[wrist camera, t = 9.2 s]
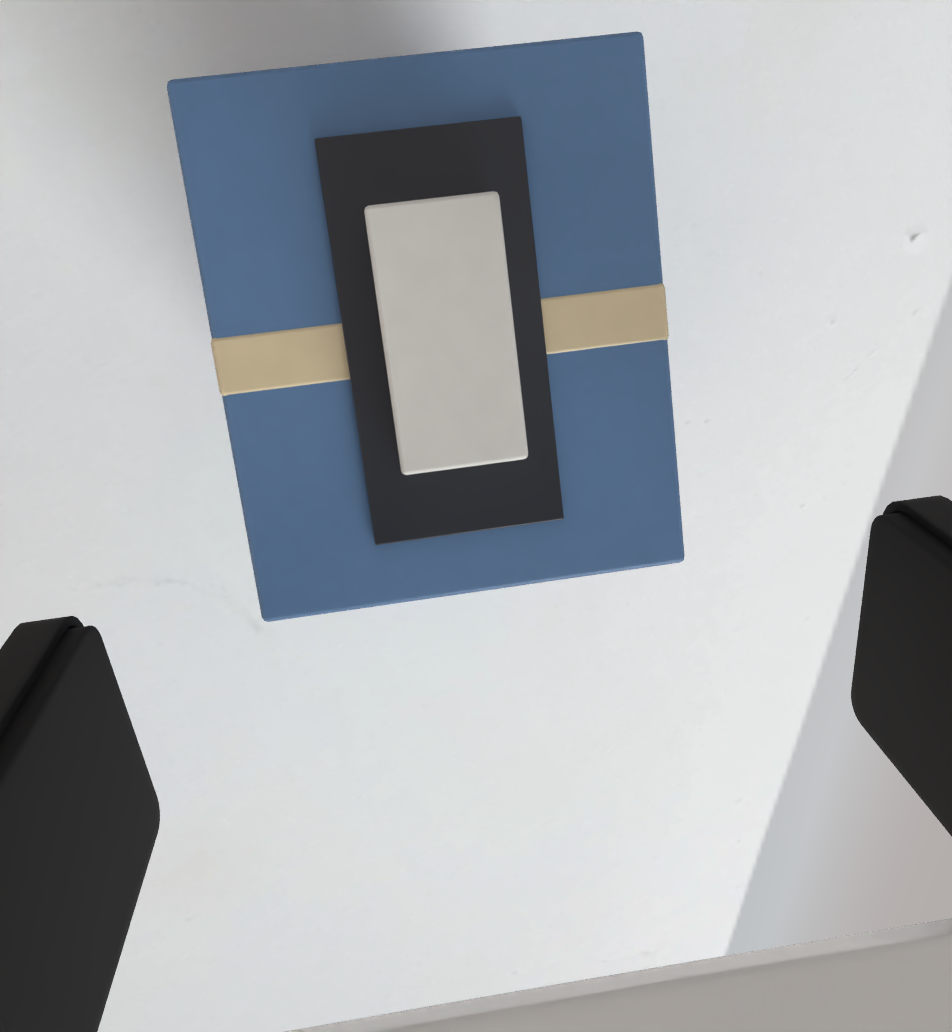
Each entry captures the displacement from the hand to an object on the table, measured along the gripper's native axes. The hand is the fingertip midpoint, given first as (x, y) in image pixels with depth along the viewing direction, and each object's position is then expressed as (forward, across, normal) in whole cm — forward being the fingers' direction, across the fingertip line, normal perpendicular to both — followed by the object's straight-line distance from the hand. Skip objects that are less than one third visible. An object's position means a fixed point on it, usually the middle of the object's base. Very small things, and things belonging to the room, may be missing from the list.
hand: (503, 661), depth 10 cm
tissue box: (+9, 0, -5) cm, 11 cm away
